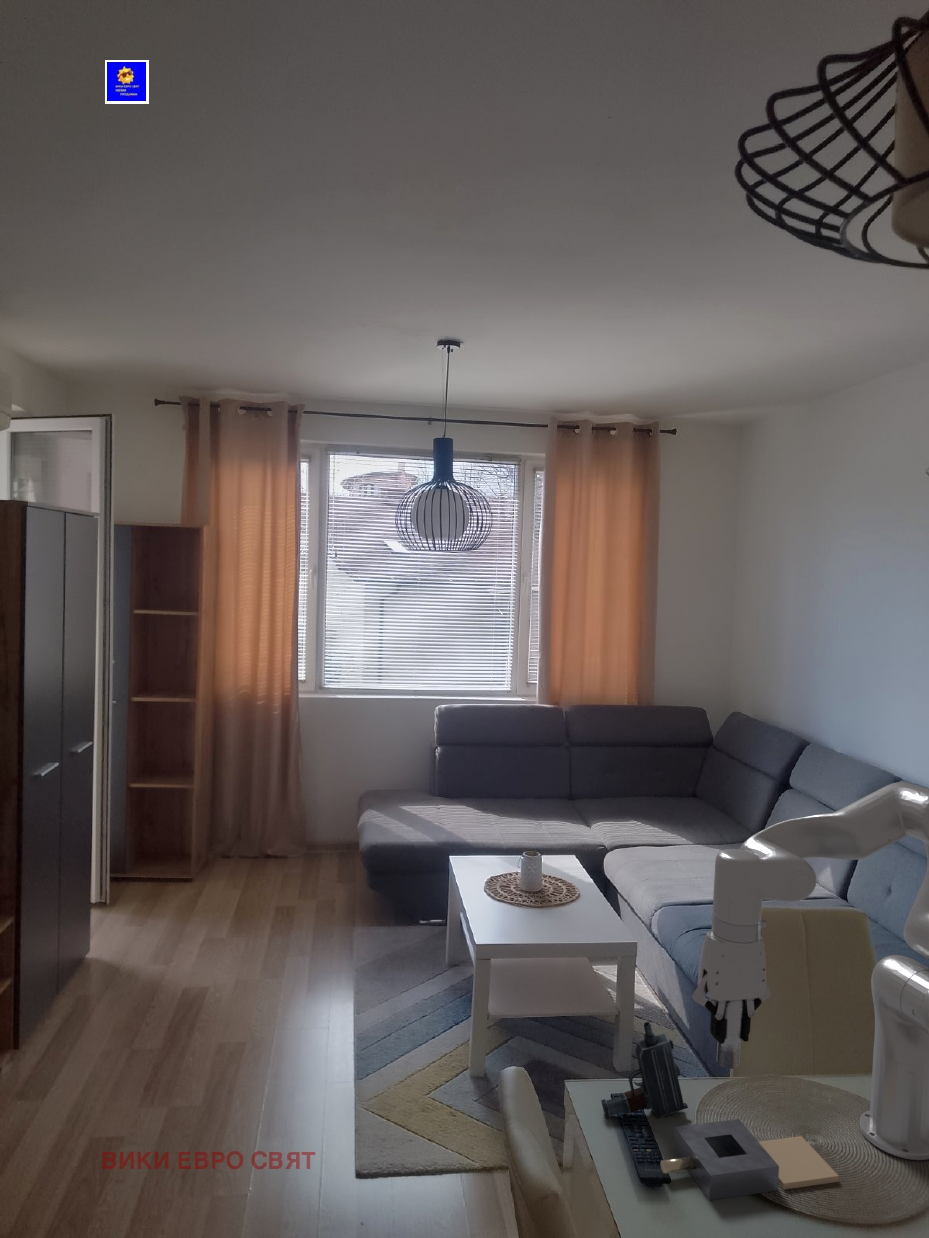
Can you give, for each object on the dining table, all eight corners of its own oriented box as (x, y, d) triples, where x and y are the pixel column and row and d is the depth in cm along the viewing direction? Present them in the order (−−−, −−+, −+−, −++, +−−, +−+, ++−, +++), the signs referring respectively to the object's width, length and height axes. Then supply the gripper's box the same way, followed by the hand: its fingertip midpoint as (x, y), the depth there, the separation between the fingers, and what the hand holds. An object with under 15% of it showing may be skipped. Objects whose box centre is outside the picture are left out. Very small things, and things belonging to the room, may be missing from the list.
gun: (586, 1037, 154) (664, 1013, 156) (606, 1123, 155) (683, 1098, 157) (590, 1046, 151) (669, 1021, 153) (610, 1133, 153) (688, 1107, 155)
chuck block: (737, 1141, 148) (738, 1118, 148) (777, 1190, 136) (779, 1165, 136) (646, 1152, 144) (647, 1129, 144) (679, 1204, 133) (680, 1179, 132)
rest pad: (801, 1141, 149) (801, 1135, 149) (838, 1181, 139) (838, 1175, 139) (749, 1148, 146) (749, 1142, 146) (783, 1189, 137) (783, 1183, 137)
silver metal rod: (732, 1055, 142) (736, 979, 142) (743, 1067, 139) (748, 990, 138) (712, 1056, 141) (716, 981, 141) (723, 1069, 138) (728, 991, 137)
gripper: (768, 916, 144) (762, 1022, 145) (678, 921, 141) (672, 1029, 142) (795, 934, 137) (788, 1046, 138) (700, 940, 133) (694, 1055, 134)
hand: (729, 1036), depth 140 cm, fingers closed on silver metal rod, 3 cm apart
